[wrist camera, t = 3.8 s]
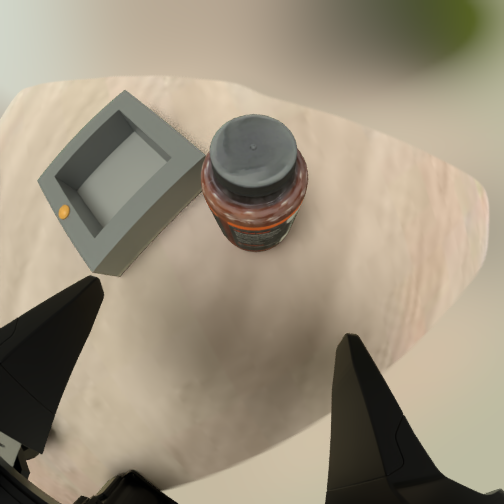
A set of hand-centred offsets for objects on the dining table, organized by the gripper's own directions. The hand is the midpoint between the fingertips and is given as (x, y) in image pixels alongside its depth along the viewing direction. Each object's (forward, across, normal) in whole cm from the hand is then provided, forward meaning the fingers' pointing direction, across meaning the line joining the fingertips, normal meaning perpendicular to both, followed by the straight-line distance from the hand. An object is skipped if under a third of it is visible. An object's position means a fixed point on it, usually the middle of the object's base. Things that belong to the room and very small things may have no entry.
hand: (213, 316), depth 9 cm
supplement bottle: (+14, 0, +4) cm, 15 cm away
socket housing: (+15, +13, +3) cm, 20 cm away
